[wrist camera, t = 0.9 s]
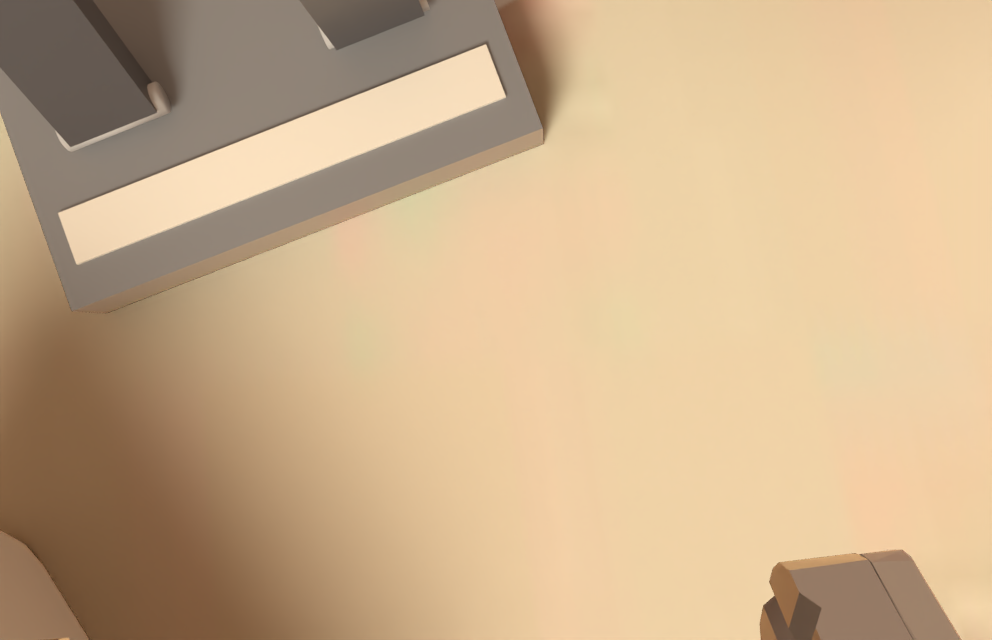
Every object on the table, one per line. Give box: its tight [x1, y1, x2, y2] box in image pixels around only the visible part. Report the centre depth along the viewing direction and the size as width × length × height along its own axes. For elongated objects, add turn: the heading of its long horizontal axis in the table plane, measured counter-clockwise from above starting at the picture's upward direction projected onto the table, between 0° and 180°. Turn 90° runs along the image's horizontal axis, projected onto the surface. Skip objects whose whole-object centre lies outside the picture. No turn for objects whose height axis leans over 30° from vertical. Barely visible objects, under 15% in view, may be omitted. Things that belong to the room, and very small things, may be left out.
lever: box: [0, 0, 171, 152], centre depth 36 cm, size 5×2×10 cm
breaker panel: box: [0, 0, 544, 313], centre depth 42 cm, size 22×16×3 cm
